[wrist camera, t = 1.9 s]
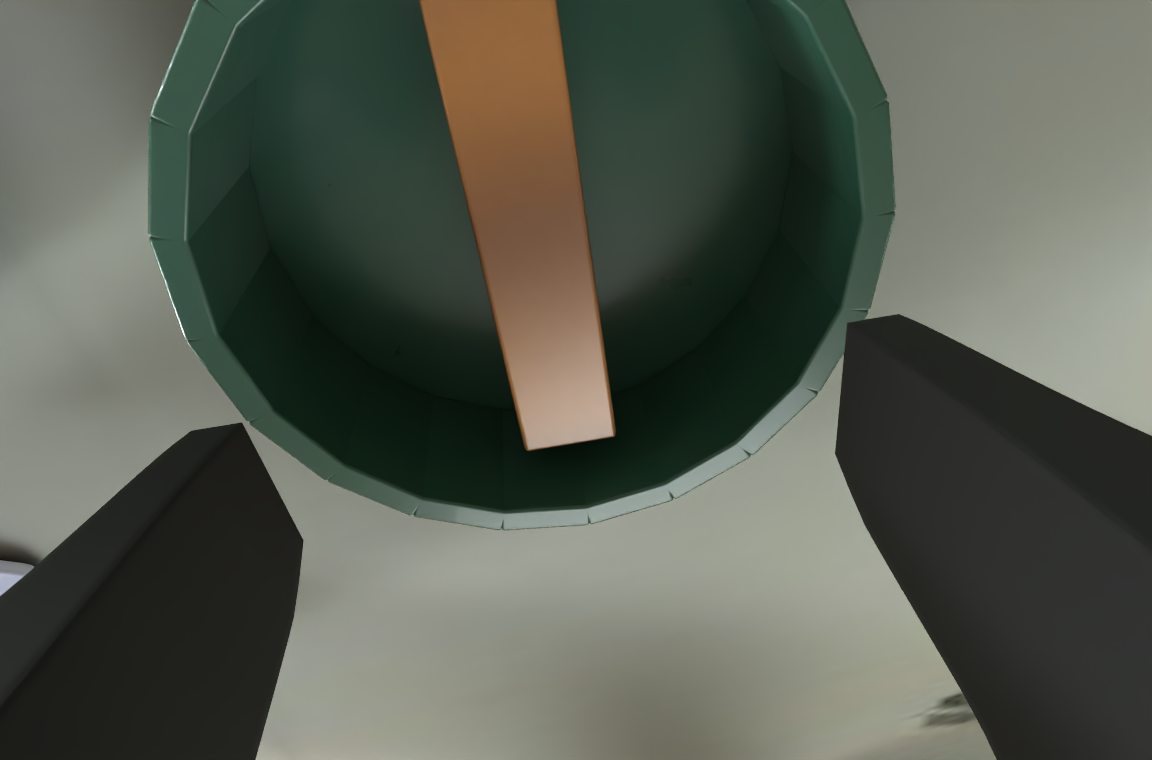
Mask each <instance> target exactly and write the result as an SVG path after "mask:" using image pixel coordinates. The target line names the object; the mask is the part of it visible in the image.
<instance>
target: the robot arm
mask: <svg viewBox="0 0 1152 760" xmlns="http://www.w3.org/2000/svg"><path fill="white" fill-rule="evenodd" d="M835 454H836V457H837V459H838V462H839V464H840V467H841V469H842V472H843V474H844V477H845V479H846V482H847V484H848V487H849V489H850V492H851V494H852V497H853V499H854V501H855V503H856V506H857V508H858V510H859V513H860V515H861V517H862V520H863V522H864V524H865V526H866V528H867V530H868V531H869V533H870V535H871V537H872V539H873V540H874V542H875V544H876V546H877V547H878V549H879V551H880V553H881V554H882V556H883V558H884V559H885V561H886V563H887V565H888V566H889V568H890V570H891V572H892V573H893V575H894V577H895V578H896V580H897V582H898V584H899V585H900V587H901V589H902V590H903V592H904V594H905V595H906V597H907V599H908V601H909V602H910V604H911V606H912V607H913V609H914V611H915V612H916V614H917V616H918V618H919V619H920V621H921V623H922V624H923V626H924V628H925V629H926V631H927V633H928V635H929V636H930V638H931V640H932V641H933V643H934V645H935V646H936V648H937V650H938V651H939V653H940V655H941V657H942V658H943V660H944V662H945V663H946V665H947V667H948V668H949V670H950V672H951V674H952V675H953V677H954V679H955V680H956V682H957V684H958V685H959V687H960V689H961V691H962V692H963V694H964V696H965V698H966V700H967V702H968V703H969V705H970V707H971V709H972V711H973V713H974V715H975V717H976V718H977V720H978V722H979V724H980V726H981V728H982V730H983V731H984V734H985V736H986V738H987V740H988V742H989V744H990V746H991V748H992V751H993V753H994V755H995V757H996V759H997V760H1152V436H1151V435H1148V434H1146V433H1144V432H1142V431H1139V430H1137V429H1135V428H1132V427H1130V426H1128V425H1126V424H1124V423H1121V422H1119V421H1117V420H1115V419H1113V418H1111V417H1109V416H1106V415H1104V414H1102V413H1100V412H1098V411H1096V410H1094V409H1091V408H1089V407H1087V406H1085V405H1083V404H1081V403H1079V402H1077V401H1075V400H1073V399H1071V398H1069V397H1066V396H1064V395H1062V394H1060V393H1058V392H1056V391H1054V390H1052V389H1050V388H1048V387H1046V386H1044V385H1042V384H1040V383H1038V382H1036V381H1034V380H1032V379H1030V378H1028V377H1026V376H1024V375H1022V374H1020V373H1018V372H1016V371H1014V370H1012V369H1010V368H1008V367H1006V366H1004V365H1002V364H1000V363H998V362H996V361H994V360H993V359H991V358H989V357H987V356H985V355H983V354H981V353H979V352H977V351H975V350H973V349H971V348H969V347H967V346H965V345H963V344H961V343H959V342H957V341H955V340H953V339H951V338H949V337H947V336H945V335H943V334H941V333H939V332H937V331H935V330H933V329H931V328H929V327H927V326H925V325H923V324H920V323H918V322H916V321H914V320H911V319H909V318H907V317H904V316H902V315H900V314H897V315H891V316H885V317H879V318H873V319H867V320H861V321H855V322H849V323H847V330H846V341H845V352H844V363H843V374H842V385H841V396H840V407H839V418H838V429H837V440H836V451H835ZM302 549H303V539H302V537H301V535H300V533H299V531H298V529H297V527H296V525H295V523H294V521H293V520H292V518H291V516H290V514H289V512H288V510H287V508H286V506H285V504H284V502H283V500H282V498H281V496H280V495H279V493H278V491H277V489H276V487H275V485H274V483H273V481H272V479H271V477H270V475H269V473H268V472H267V470H266V468H265V466H264V464H263V462H262V460H261V458H260V456H259V454H258V452H257V450H256V448H255V447H254V445H253V443H252V441H251V439H250V437H249V435H248V433H247V431H246V429H245V427H244V425H243V424H242V423H236V424H230V425H224V426H218V427H212V428H206V429H199V430H193V431H191V432H189V433H188V434H187V435H185V436H184V437H183V438H181V439H180V440H179V441H177V442H176V443H175V444H173V445H172V446H171V447H170V448H168V449H167V450H166V451H165V452H164V453H163V454H161V455H160V456H159V457H158V458H157V459H155V460H154V461H153V462H152V463H151V464H150V465H149V466H147V467H146V468H145V469H144V470H143V471H142V472H140V473H139V474H138V475H137V476H136V477H135V478H134V479H133V480H131V481H130V482H129V483H128V484H127V485H126V486H125V487H124V488H122V489H121V490H120V491H119V492H118V493H117V494H116V495H115V496H114V497H112V498H111V499H110V500H109V501H108V502H107V503H106V504H105V505H104V506H102V507H101V508H100V509H99V510H98V511H97V512H96V513H95V514H94V515H92V516H91V517H90V518H89V519H88V520H87V521H86V522H85V523H83V524H82V525H81V526H80V527H79V528H78V529H77V530H76V531H75V532H73V533H72V534H71V535H70V536H69V537H68V538H67V539H66V540H64V541H63V542H62V543H61V544H60V545H59V546H58V547H57V548H55V549H54V550H53V551H52V552H51V553H50V554H49V555H48V556H47V557H45V558H44V559H43V560H42V561H41V562H40V563H39V564H38V565H36V566H35V567H34V566H32V565H29V564H25V563H17V562H9V561H1V560H0V760H255V759H256V755H257V752H258V748H259V745H260V741H261V737H262V734H263V730H264V726H265V723H266V719H267V716H268V712H269V708H270V705H271V701H272V698H273V694H274V690H275V687H276V683H277V679H278V676H279V672H280V668H281V665H282V661H283V657H284V653H285V650H286V646H287V642H288V638H289V634H290V630H291V626H292V622H293V618H294V612H295V605H296V598H297V592H298V585H299V577H300V567H301V558H302Z"/></svg>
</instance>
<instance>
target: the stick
mask: <svg viewBox="0 0 1152 760" xmlns="http://www.w3.org/2000/svg"><path fill="white" fill-rule="evenodd" d="M418 1H419V5H420V9H421V13H422V18H423V22H424V26H425V30H426V34H427V39H428V43H429V47H430V51H431V56H432V60H433V64H434V68H435V72H436V77H437V81H438V85H439V89H440V94H441V98H442V102H443V106H444V110H445V115H446V119H447V123H448V127H449V131H450V136H451V140H452V144H453V148H454V153H455V157H456V161H457V165H458V169H459V174H460V178H461V182H462V186H463V191H464V195H465V199H466V203H467V207H468V212H469V216H470V220H471V224H472V229H473V233H474V237H475V241H476V245H477V250H478V254H479V258H480V262H481V267H482V271H483V275H484V279H485V283H486V288H487V292H488V296H489V300H490V305H491V309H492V313H493V317H494V321H495V326H496V330H497V334H498V338H499V343H500V347H501V351H502V355H503V359H504V364H505V368H506V372H507V376H508V381H509V385H510V389H511V393H512V397H513V402H514V406H515V410H516V414H517V419H518V423H519V427H520V431H521V435H522V440H523V444H524V447H525V449H526V450H527V451H532V450H538V449H544V448H550V447H556V446H562V445H568V444H574V443H580V442H586V441H592V440H598V439H604V438H610V437H614V436H615V434H616V427H615V420H614V413H613V406H612V398H611V391H610V384H609V377H608V370H607V362H606V355H605V348H604V341H603V333H602V326H601V319H600V312H599V304H598V297H597V290H596V283H595V275H594V268H593V261H592V254H591V247H590V239H589V232H588V225H587V218H586V210H585V203H584V196H583V189H582V181H581V174H580V167H579V160H578V152H577V145H576V138H575V131H574V124H573V116H572V109H571V102H570V95H569V87H568V80H567V73H566V66H565V58H564V51H563V44H562V37H561V29H560V22H559V15H558V8H557V1H556V0H418Z"/></svg>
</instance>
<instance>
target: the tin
mask: <svg viewBox="0 0 1152 760" xmlns="http://www.w3.org/2000/svg"><path fill="white" fill-rule="evenodd" d="M556 1H557V8H558V15H559V22H560V29H561V37H562V44H563V51H564V58H565V66H566V73H567V80H568V87H569V95H570V102H571V109H572V116H573V124H574V131H575V138H576V145H577V152H578V160H579V167H580V174H581V181H582V189H583V196H584V203H585V210H586V218H587V225H588V232H589V239H590V247H591V254H592V261H593V268H594V275H595V283H596V290H597V297H598V304H599V312H600V319H601V326H602V333H603V341H604V348H605V355H606V362H607V370H608V377H609V384H610V391H611V398H612V406H613V413H614V420H615V427H616V434H615V436H614V437H610V438H604V439H598V440H592V441H586V442H580V443H574V444H568V445H562V446H556V447H550V448H544V449H538V450H532V451H527V450H526V449H525V447H524V444H523V440H522V435H521V431H520V427H519V423H518V419H517V414H516V410H515V406H514V402H513V397H512V393H511V389H510V385H509V381H508V376H507V372H506V368H505V364H504V359H503V355H502V351H501V347H500V343H499V338H498V334H497V330H496V326H495V321H494V317H493V313H492V309H491V305H490V300H489V296H488V292H487V288H486V283H485V279H484V275H483V271H482V267H481V262H480V258H479V254H478V250H477V245H476V241H475V237H474V233H473V229H472V224H471V220H470V216H469V212H468V207H467V203H466V199H465V195H464V191H463V186H462V182H461V178H460V174H459V169H458V165H457V161H456V157H455V153H454V148H453V144H452V140H451V136H450V131H449V127H448V123H447V119H446V115H445V110H444V106H443V102H442V98H441V94H440V89H439V85H438V81H437V77H436V72H435V68H434V64H433V60H432V56H431V51H430V47H429V43H428V39H427V34H426V30H425V26H424V22H423V18H422V13H421V9H420V5H419V1H418V0H195V2H194V4H193V7H192V9H191V12H190V14H189V17H188V19H187V22H186V24H185V27H184V29H183V31H182V34H181V36H180V39H179V41H178V44H177V46H176V49H175V51H174V54H173V56H172V59H171V61H170V64H169V66H168V68H167V71H166V73H165V76H164V78H163V81H162V83H161V86H160V88H159V91H158V93H157V96H156V98H155V101H154V103H153V105H152V108H151V117H150V118H149V159H148V233H149V235H150V243H151V246H152V249H153V251H154V254H155V257H156V260H157V263H158V265H159V268H160V271H161V274H162V277H163V279H164V282H165V285H166V288H167V291H168V293H169V296H170V299H171V302H172V305H173V307H174V310H175V313H176V316H177V319H178V321H179V324H180V327H181V330H182V332H183V335H184V338H185V339H186V340H187V343H188V345H189V346H190V348H191V349H192V350H193V352H194V353H195V354H196V355H197V357H198V358H199V359H200V361H201V362H202V363H203V365H204V366H205V367H206V368H207V370H208V371H209V372H210V374H211V375H212V376H213V378H214V379H215V380H216V381H217V383H218V384H219V385H220V387H221V388H222V389H223V391H224V392H225V393H226V395H227V396H228V397H229V398H230V400H231V401H232V402H233V404H234V405H235V406H236V408H237V409H238V410H239V411H240V413H241V414H242V415H243V417H244V418H245V419H246V420H247V421H249V422H250V425H251V426H253V427H254V428H255V429H257V430H258V431H259V432H261V433H262V434H263V435H265V436H266V437H267V438H269V439H270V440H271V441H273V442H274V443H275V444H277V445H278V446H279V447H281V448H282V449H284V450H285V451H286V452H288V453H289V454H290V455H292V456H293V457H294V458H296V459H297V460H298V461H300V462H301V463H302V464H304V465H305V466H306V467H308V468H309V469H310V470H312V471H313V472H314V473H316V474H317V475H319V476H320V477H321V478H323V479H324V480H328V481H329V482H330V483H332V484H335V485H337V486H340V487H342V488H344V489H347V490H349V491H352V492H354V493H357V494H359V495H361V496H364V497H366V498H369V499H371V500H374V501H376V502H379V503H381V504H383V505H386V506H388V507H391V508H393V509H396V510H398V511H400V512H403V513H405V514H408V515H413V514H414V516H415V517H419V518H426V519H432V520H438V521H445V522H451V523H457V524H464V525H470V526H476V527H482V528H489V529H495V530H500V529H501V528H502V529H503V530H517V529H532V528H548V527H563V526H578V525H588V524H589V523H590V524H594V523H597V522H601V521H604V520H608V519H611V518H614V517H618V516H621V515H625V514H628V513H631V512H635V511H638V510H641V509H645V508H648V507H652V506H655V505H658V504H662V503H665V502H669V501H672V500H673V498H675V499H676V498H678V497H680V496H682V495H684V494H686V493H687V492H689V491H691V490H693V489H694V488H696V487H698V486H700V485H701V484H703V483H705V482H707V481H709V480H710V479H712V478H714V477H716V476H717V475H719V474H721V473H723V472H725V471H726V470H728V469H730V468H732V467H733V466H735V465H737V464H739V463H740V462H742V461H744V460H746V459H748V458H749V457H750V456H751V455H753V454H755V453H756V452H757V451H758V450H759V449H760V448H761V447H762V446H763V445H764V444H766V443H767V442H768V441H769V440H770V439H771V438H772V437H773V436H774V435H775V434H776V433H777V432H778V431H779V430H780V429H781V428H783V427H784V426H785V425H786V424H787V423H788V422H789V421H790V420H791V419H792V418H793V417H794V416H795V415H796V414H797V413H798V412H800V411H801V410H802V409H803V408H804V407H805V406H806V405H807V404H808V403H809V402H810V401H811V400H812V399H813V398H814V397H815V396H817V394H818V391H820V390H821V389H822V387H823V386H824V384H825V382H826V381H827V379H828V378H829V376H830V374H831V373H832V371H833V369H834V368H835V366H836V364H837V363H838V361H839V360H840V358H841V356H842V355H843V353H844V351H845V341H846V330H847V323H849V322H855V321H861V320H864V319H865V317H866V316H867V314H868V310H869V309H870V307H871V304H872V300H873V296H874V292H875V289H876V285H877V281H878V277H879V274H880V270H881V266H882V262H883V258H884V255H885V251H886V247H887V243H888V240H889V236H890V232H891V228H892V224H893V221H894V217H895V212H894V210H895V208H896V206H895V191H894V175H893V160H892V145H891V129H890V114H889V102H888V101H887V100H886V99H887V94H886V91H885V89H884V87H883V85H882V82H881V80H880V78H879V76H878V73H877V71H876V69H875V67H874V64H873V62H872V60H871V58H870V55H869V53H868V51H867V49H866V46H865V44H864V42H863V40H862V37H861V35H860V33H859V31H858V28H857V26H856V24H855V22H854V19H853V17H852V15H851V13H850V10H849V8H848V6H847V4H846V2H845V0H556Z"/></svg>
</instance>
